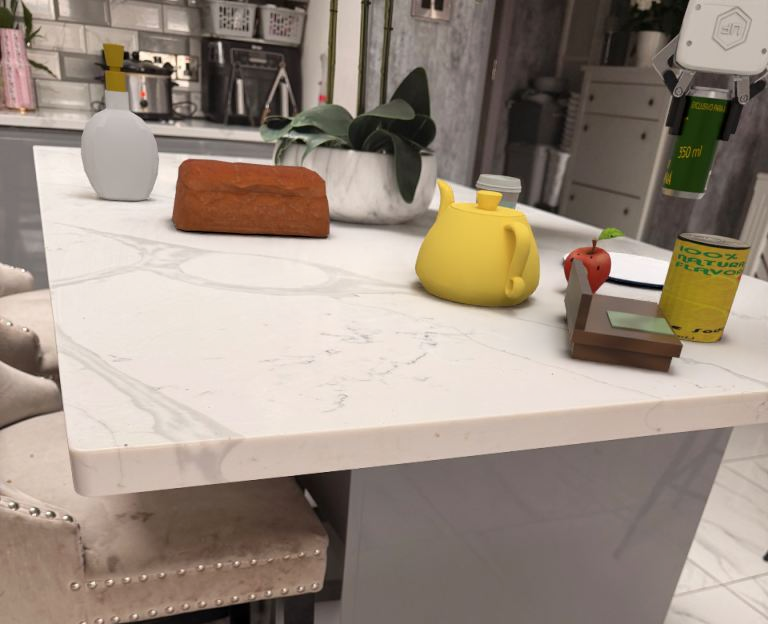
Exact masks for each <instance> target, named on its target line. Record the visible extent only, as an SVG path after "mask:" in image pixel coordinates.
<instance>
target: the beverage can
mask: <svg viewBox="0 0 768 624" xmlns="http://www.w3.org/2000/svg"><path fill="white" fill-rule="evenodd" d="M751 248H752V244H751V243H748V242H746V241H743V240H740V239H736V238H731V237H727V236H722V235H717V234H710V233H701V232H690V231H689V232H686V231H685V232H678V233H677V236H676V239H675V243H674V247H673V250H672V253H671V258H670V261H669V262H670V265H669V268H668V272H667V275H666V279H665V283H664V286H663V287H662V290H661V293H660V297H659V300H658V303H657V304H658V305H659V307H660V308H661V310H662V312H663V313H664V315H665V317H666V318H667V320H668V321H669V323H670V325H671V326H672V328H673V330H674V331H675V333H676V334H677V336H678V338H679V339H680V340H685V341H691V342H700V343H716V342H719V341H720V340H722V337H723V334H724V332H725V328H726V325H727V322H728V319H729V316H730V313H731V309H732V306H733V305H734V301H735V298H736V294H737V291H738V288H739V285H740V282H741V280H742V276H743V273H744V269H745V267H746V264H747V261H748V258H749V255H750V251H751Z"/></svg>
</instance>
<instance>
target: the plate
mask: <svg viewBox="0 0 768 624" xmlns="http://www.w3.org/2000/svg"><path fill="white" fill-rule="evenodd" d="M606 252H607V253H609V255H610V258H611V271H610V275H609V277H608V278H607V280H610V281H615V282H619V283H625V284H630V285H635V286H644V287H652V288H663V286H664V283H665V279H666V275H667V272H668V268H669V265H670V261H666V260H663V259H657V258H654V257H650V256H649V257H648V256H643V255H636V254H630V253H622V252H615V251H614V252H613V251H606ZM570 253H571V252H567V253H565V254H564V255H563V256H562V259H563V261H564V262H565V259H566V258H567V256H568V255H569V254H570Z"/></svg>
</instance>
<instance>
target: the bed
mask: <svg viewBox="0 0 768 624" xmlns="http://www.w3.org/2000/svg"><path fill="white" fill-rule="evenodd" d="M566 285H567V286H566V290H565V295H564V299H563V302H564V308H565V315H564V320H565V323H567V327H568V332H569V338H570V339H569V340H570V342H571V347H570V358H572V359H580V360H585V361H593V362H599V363H605V364H612V365H620V366H627V367H631V368H638V369H646V370H652V371H653V370H655V371H660V372H665V373H669V371H670V367H671V363H672V361H673V358H676V359H680V357H681V354H682V350H683V347H684V344H683V342H682V341H681V339H680V338H678V336H677V334H676V333H675V331H674V330H673V328H672V326H671V325H670V323H669V321H668V320H667V318H666V317H665V315H664V313H663V312H662V310H661V308H660V307H659V305H658V304H659V303H658V302H656V301H651V300H650V301H649V300H643V299H642V300H641V299H636V298H635V299H634V298H629V297H621V296H613V295H606V294H599V293H595V294H593V293H592V291H591V288H590V284H589V281H588V278H587V275H586V272H585V269H584V266H583V262H582V260H575V259H573V262H572V266H571V271H570V276H569V280H568V283H567V284H566Z"/></svg>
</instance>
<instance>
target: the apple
mask: <svg viewBox="0 0 768 624" xmlns="http://www.w3.org/2000/svg"><path fill="white" fill-rule="evenodd" d="M625 235H626V233H625V232H623V231H621V230H620V229H618V228H616V227H606V228H605V229H603V230H602V231H601V232H600V235H599V236H598V239H597V237H594V238H592V239H591V242H592V246H586V247H585V246H584V247H583V246H582V247H578V248H575V249H574V250H572V251H571V252H569V253H570V254H569V255H568V256H567V258H566V259H565V261H564V263H563V273H564V278H565V280H566V283H567V284H568V280H569V276H570V271H571V266H572V262H573V259H575V260H582V262H583V266H584V269H585V272H586V275H587V278H588V281H589V284H590V288H591V291H592V293H593V294H597V291H598V290H599V289H600V288H601V287H602V286H603V285H604V284H605V282H606V281H607V280H608V279H607V278H608V277H609V275H610V271H611V258H610V255H609V253H607V252H608V251H607V250H605V249H604V248H602V247H599V246H597V243H598V242H599V241H602V240H609V239H617V238H619V237H621V238H623V237H625Z"/></svg>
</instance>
